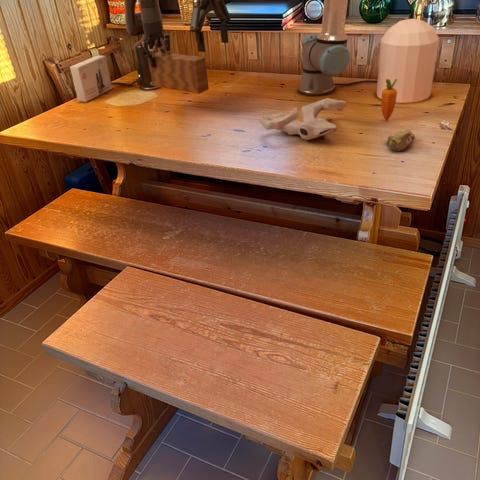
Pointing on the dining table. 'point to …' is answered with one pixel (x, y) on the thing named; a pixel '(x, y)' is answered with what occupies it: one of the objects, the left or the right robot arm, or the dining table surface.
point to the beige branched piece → (305, 120)
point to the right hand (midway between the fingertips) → (213, 47)
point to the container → (408, 60)
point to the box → (179, 72)
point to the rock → (400, 140)
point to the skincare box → (91, 78)
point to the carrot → (388, 99)
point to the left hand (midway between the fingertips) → (159, 65)
